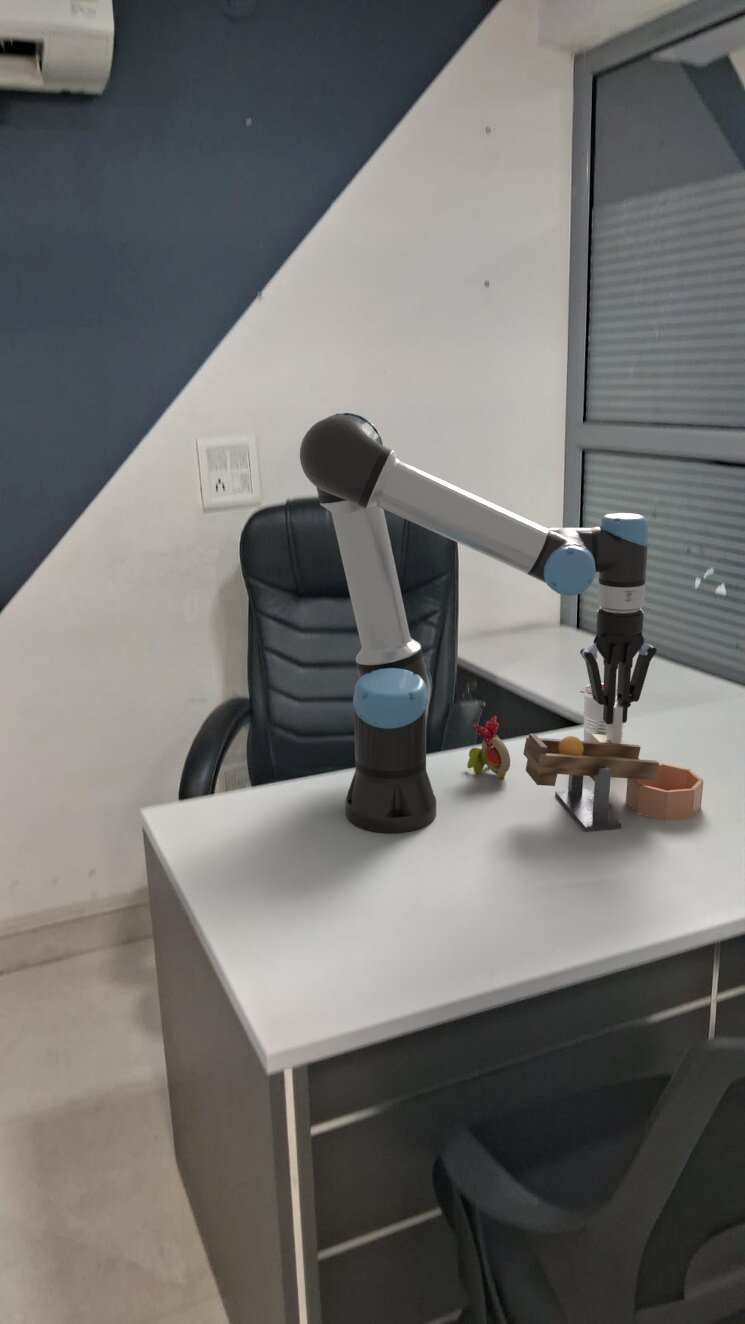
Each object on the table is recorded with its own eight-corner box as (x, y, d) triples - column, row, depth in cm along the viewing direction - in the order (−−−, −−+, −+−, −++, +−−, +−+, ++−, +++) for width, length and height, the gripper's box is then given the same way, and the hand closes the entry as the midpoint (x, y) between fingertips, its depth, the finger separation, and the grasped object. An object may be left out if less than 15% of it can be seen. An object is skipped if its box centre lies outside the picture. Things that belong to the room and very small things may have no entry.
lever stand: (585, 831, 158) (588, 773, 155) (555, 795, 171) (557, 741, 168) (621, 828, 158) (625, 770, 156) (588, 792, 172) (591, 738, 169)
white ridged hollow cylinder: (634, 747, 192) (638, 688, 188) (620, 761, 185) (624, 701, 181) (585, 737, 197) (588, 680, 193) (569, 751, 190) (572, 692, 186)
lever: (537, 788, 157) (544, 750, 155) (506, 750, 172) (512, 715, 170) (653, 795, 161) (661, 758, 159) (612, 757, 176) (620, 723, 174)
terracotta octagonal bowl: (618, 808, 165) (620, 781, 164) (642, 785, 174) (644, 759, 173) (685, 825, 159) (687, 797, 158) (707, 800, 168) (709, 773, 167)
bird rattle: (513, 783, 181) (483, 751, 186) (532, 739, 174) (500, 706, 180) (487, 792, 177) (458, 759, 183) (506, 747, 171) (474, 714, 176)
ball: (562, 731, 160) (585, 732, 160) (553, 741, 163) (576, 742, 164) (565, 754, 158) (589, 755, 158) (556, 764, 161) (579, 764, 162)
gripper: (591, 615, 160) (586, 751, 167) (667, 610, 162) (658, 745, 169) (575, 605, 167) (570, 735, 174) (647, 600, 169) (640, 729, 176)
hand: (613, 740), depth 171 cm, fingers closed
